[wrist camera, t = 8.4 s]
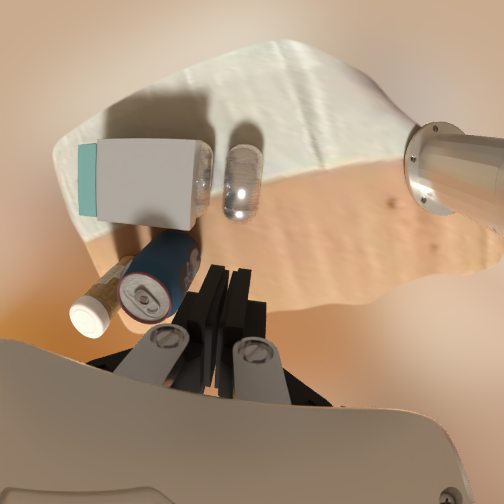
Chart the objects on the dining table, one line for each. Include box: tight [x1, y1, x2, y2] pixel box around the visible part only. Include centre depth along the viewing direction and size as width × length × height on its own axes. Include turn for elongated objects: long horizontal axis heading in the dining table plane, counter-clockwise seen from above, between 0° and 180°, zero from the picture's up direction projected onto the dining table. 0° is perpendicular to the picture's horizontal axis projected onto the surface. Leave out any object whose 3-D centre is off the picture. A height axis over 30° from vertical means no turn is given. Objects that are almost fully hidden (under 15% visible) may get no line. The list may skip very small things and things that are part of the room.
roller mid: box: [196, 141, 213, 218], centre depth 31 cm, size 9×4×4 cm, turn 173°
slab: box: [96, 138, 202, 231], centre depth 28 cm, size 11×9×2 cm
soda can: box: [117, 231, 201, 324], centre depth 31 cm, size 7×7×12 cm
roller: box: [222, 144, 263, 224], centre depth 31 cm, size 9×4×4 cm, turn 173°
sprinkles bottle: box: [70, 255, 134, 338], centre depth 32 cm, size 5×5×13 cm
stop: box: [78, 143, 97, 217], centre depth 30 cm, size 2×8×7 cm, turn 173°
